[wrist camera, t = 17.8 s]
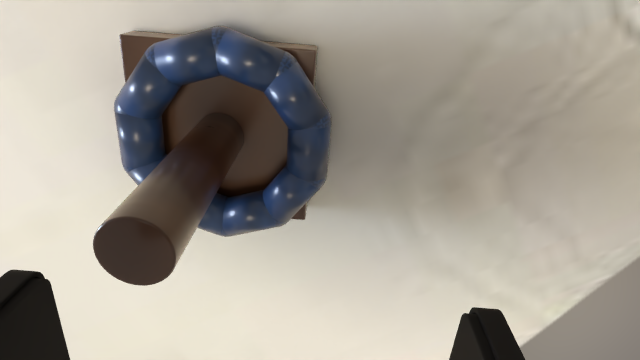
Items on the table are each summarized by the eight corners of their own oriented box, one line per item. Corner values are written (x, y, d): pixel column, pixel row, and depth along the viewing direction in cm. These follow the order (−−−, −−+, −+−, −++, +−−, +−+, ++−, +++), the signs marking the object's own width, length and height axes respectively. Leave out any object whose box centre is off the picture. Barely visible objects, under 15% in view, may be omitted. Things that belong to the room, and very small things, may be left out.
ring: (338, 32, 19) (338, 38, 17) (322, 230, 23) (321, 251, 22) (114, 15, 19) (91, 19, 17) (141, 216, 23) (125, 236, 22)
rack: (317, 45, 21) (297, 114, 10) (306, 206, 25) (284, 375, 14) (132, 30, 21) (-73, 85, 10) (151, 194, 25) (15, 353, 14)
